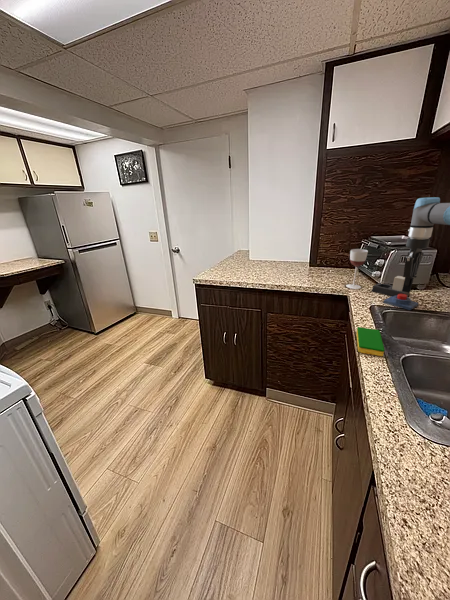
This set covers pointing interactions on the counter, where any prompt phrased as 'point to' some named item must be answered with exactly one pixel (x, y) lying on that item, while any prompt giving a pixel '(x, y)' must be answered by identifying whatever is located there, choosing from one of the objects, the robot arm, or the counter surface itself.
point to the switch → (402, 296)
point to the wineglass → (357, 263)
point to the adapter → (387, 290)
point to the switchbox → (401, 302)
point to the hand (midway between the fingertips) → (406, 291)
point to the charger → (398, 283)
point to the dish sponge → (369, 341)
